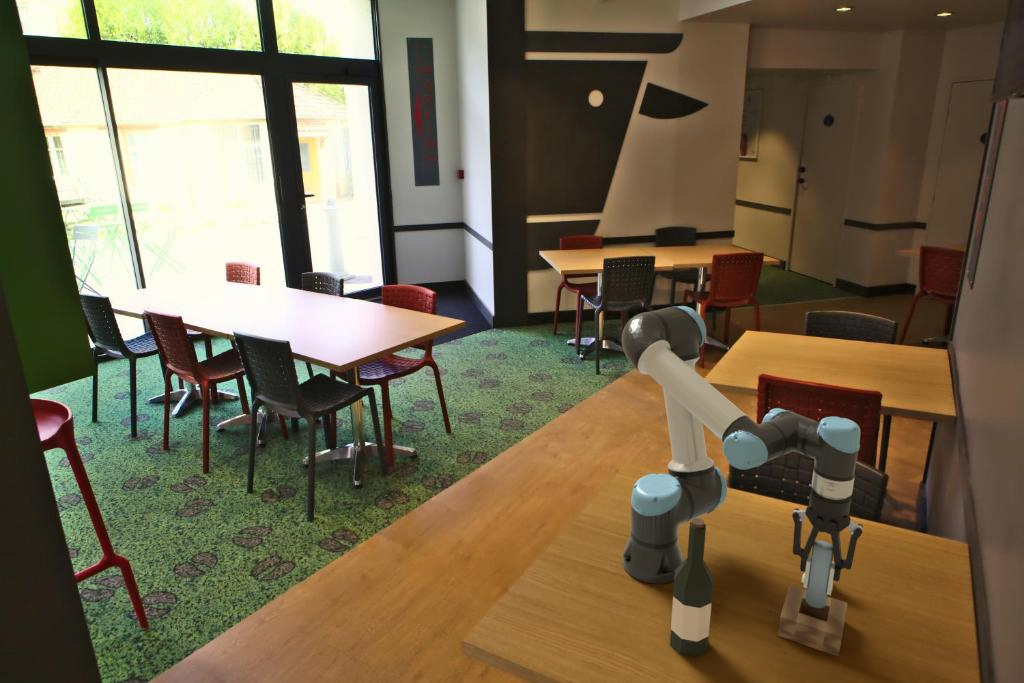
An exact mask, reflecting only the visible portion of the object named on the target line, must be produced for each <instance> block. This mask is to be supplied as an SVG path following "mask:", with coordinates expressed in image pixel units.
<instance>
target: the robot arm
mask: <svg viewBox="0 0 1024 683" xmlns="http://www.w3.org/2000/svg"><path fill="white" fill-rule="evenodd" d="M706 339H707V326H706V324H705V322H704V320H703V318H702V317H701V315H700V314H699V313H698V312H696V310H695V309H694V308H692V307H690V306H689V307H688V306H686V305H685V306H684V305H679V306H671V307H665V308H661V309H657V310H652V311H647V312H645V311H644V312H640V313H638V314H636V315H634V316H633V317H631V318H630V319H629V320H628V321H627V323H625V326H624V327H623V331H622V333H621V346H622V350H623V352H624V354H625V357H626V359H627V360H628V362H629V363H630V364H631V365H632V367H634V368H635V369H636V370H637V371H638V372H640V374H642V375H649V376H650V377H651V378H653V380H655V381H656V383H658V385H660V386H661V387H662V391H663V397H664V405H665V413H666V420H667V426H668V427H667V428H668V434H669V441H670V442H669V443H670V449H671V455H672V456H671V457H672V458H671V460H670V462H669V463H668V464H667V472H668V474H667V473H660V472H659V473H658V474H656V473H649V474H646V475H643V476H641V477H640V478H639V479H638V480H636V481H635V483H634V485H633V488H632V493H631V498H630V504H631V508H630V510H631V511H630V535H629V538H628V539H627V542H626V544H625V546H624V549H623V552H622V559H621V560H622V561H621V562H622V566H623V568H624V570H625V572H627V573H628V575H630V576H631V577H632V578H634V579H636V580H638V581H642V582H645V583H649V584H655V585H656V584H657V585H660V584H668V583H671V582H674V577H675V570H676V569H677V568H678V567H679V565H680V564H681V563H682V562H683V561H684V559H683V555H682V554H683V553H682V551H681V547H680V544H679V541H678V539H679V537H678V536H679V527H680V526H681V525H683V524H685V523H688V522H691V521H692V519H695V518H699V517H702V516H704V515H708V514H711V513H712V512H714V511H715V510H716V509H718V508H720V507H721V506H722V505H723V504H724V502H725V500H726V498H727V495H728V486H727V485H728V484H727V480H726V477H725V475H724V474H722V471H721V470H720V468H718V467H717V466H716V465H715V462H714V460H713V459H711V458H710V457H709V456H708V455H707V449H706V448H707V447H706V441H705V433H704V431H705V430H704V426H705V427H706V428H707V430H709V431H710V432H711V433H712V434H713V435H714V436H716V438H718V439H719V440H720V441H721V442H722V443H723V444H722V452H723V455H724V456H725V458H726V460H727V462H728V463H729V464H730V466H732V467H733V468H735V469H739V470H749V469H752V468H756V467H760V466H762V465H763V464H765V463H767V462H769V461H772V460H774V459H776V458H780V457H782V456H785V455H787V454H790V453H792V452H795V453H799V454H800V455H803V456H806V457H808V458H810V459H813V460H814V465H813V471H812V478H811V479H812V480H811V489H810V493H809V502H808V506H806V508H805V509H800V508H794V510H793V512H792V520H793V522H794V528H793V539H792V540H793V543H792V544H793V545H792V554H793V555H795V556H798V557H799V558H800V564H799V571H800V572H805V577H804V584H803V586H802V587H803V589H807V586H808V579H809V571H810V564H811V556H812V554H811V552H812V548H813V544H814V542H815V541H816V539H817V537H818V535H819V532H820V533H826V534H828V535H829V536H830V537H831V542H832V543H831V545H832V546H833V560H832V565H831V569H830V576H829V582H828V589H827V596H832V592H833V590H832V586H833V587H834V582H839V581H840V578H841V572H842V569H846V570H851V569H852V565H853V561H854V557H855V551H856V547H857V543H858V542H857V541H858V540H859V538H860V537H861V535H862V534H863V530H864V525H863V524H862V523H856V522H854V521H852V520H851V516H850V508H851V504H852V503H851V502H852V494H853V491H854V490H853V489H854V483H855V477H856V476H855V475H856V474H855V473H856V467H857V461H858V455H859V451H860V448H861V444H860V442H861V428H860V425H859V424H857V423H856V422H855V421H854V420H851V419H849V418H845V417H840V416H826V417H824V418H822V419H821V420H820V421H816V420H814V419H811V418H809V417H806V416H803V415H801V414H798V413H796V412H794V411H792V410H786V409H783V408H779V407H776V408H772V409H770V410H769V411H768V413H766V414H765V415H764V417H763V418H762V421H761V423H757V422H755V421H754V420H753V419H752V418H751V417H749V416H748V415H747V414H746V413H744V412H743V411H742V410H741V409H740V408H739V407H737V405H735V404H734V403H733V402H732V401H731V400H729V399H728V398H727V397H726V396H725V395H724V394H723V393H722V392H720V391H719V390H718V389H717V388H715V386H714V385H712V384H711V383H710V382H708V381H707V379H705V377H702V376H701V375H700V374H699V373H698V372H697V371H696V363H697V362H698V361H699V360H700V358H701V356H700V348H701V347H702V346H703V345H704V343H705V342H704V341H706ZM805 518H807V519H808V521H809V522H810V524H811V526H812V528H811V530H810V533H809V535H808V538H807V539H806V543H805V545H804V547H801V544H802V541H801V540H802V531H803V522H804V520H805ZM846 528H849V529H848V530H849V534H850V538H849V544H848V548H847V552H846V559H843V556H842V555H843V554H842V544H841V543H842V542H841V533H840V532H842V531H844V530H845V529H846ZM810 554H811V555H810ZM831 591H832V592H831Z"/></svg>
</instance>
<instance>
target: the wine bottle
mask: <svg viewBox="0 0 1024 683" xmlns="http://www.w3.org/2000/svg"><path fill="white" fill-rule="evenodd" d="M706 530H707V524H706V523H705V520H703V519H701V518H699V517H697V518H695V519H692V520H691V521H689V530H688V532H689V533H688V542H687V543H688V544H687V557H686V558H685V559H683V562H682V563H681V564H680V565H679V567H678V568H677V569H676V570H675V577H674V581H673V592H672V606H671V607H672V608H671V622H670V624H671V625H670V636H669V638H670V639H669V646H670V647H672V649H673V650H674V651H676V653H677V654H679V655H680V656H683V657H689V658H694V659H695V658H698V657H701V656H702V655H705V654H707V653H708V647H709V637H710V635H709V634H710V625H711V612H712V601H713V593H714V591H713V589H714V575H713V574H712V572H711V569H709V567H708V565H707V564H706V562H705V561H704V555H705V546H706V545H705V544H706V532H707V531H706Z"/></svg>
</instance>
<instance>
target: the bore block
mask: <svg viewBox="0 0 1024 683" xmlns="http://www.w3.org/2000/svg"><path fill="white" fill-rule="evenodd" d="M806 593H807V589H805V588H800V587H798V586H797V587H796V586H793V585H789V587H788V588H787V593H786V596H785V599H784V603H783V605H782V610H781V613H780V617H779V623H778V631H777V637H781V638H783V639H786V640H789V641H792V642H795V643H798V644H800V645H804V646H807V647H809V648H812V649H815V650H818V651H820V652H824V653H826V654H830V655H832V656H835V657H840V651H841V650H840V649H841V646H842V639H843V634H844V629H845V628H844V627H845V622H846V615H847V608H848V602H846V601H843V600H840V599H836V598H833V597H831V596H827V600H826V606H825V607H823V608H815V607H812V606H810V605H809V604H808V603H807V602H806Z"/></svg>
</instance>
